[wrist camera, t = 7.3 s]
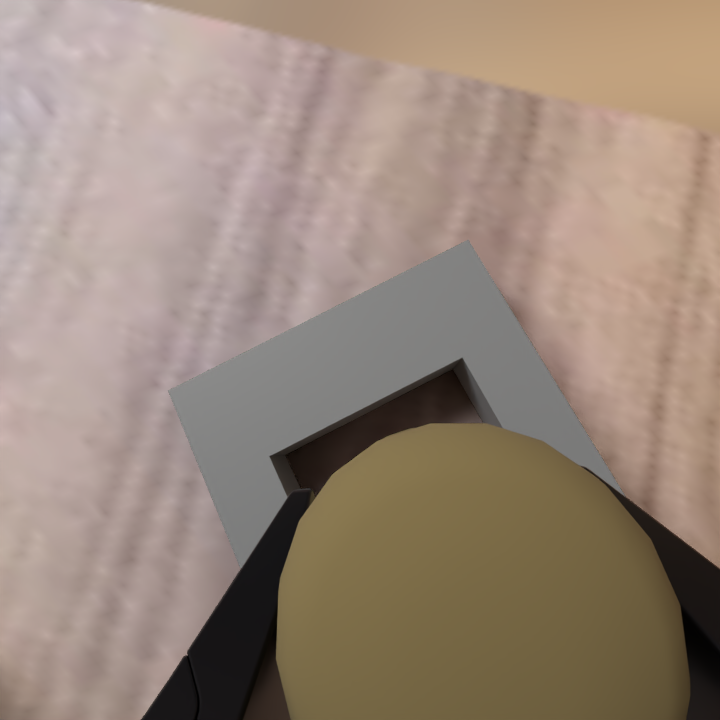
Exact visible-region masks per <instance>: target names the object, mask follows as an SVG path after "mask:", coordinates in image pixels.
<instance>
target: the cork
mask: <svg viewBox="0 0 720 720" xmlns="http://www.w3.org/2000/svg"><path fill="white" fill-rule="evenodd" d="M276 661H277V666H278V670H279V674H280V678H281V682H282V686H283V690H284V694H285V698H286V702H287V707H288V711H289V715H290V719H291V720H686V718H687V712H688V706H689V700H690V674H689V666H688V659H687V651H686V644H685V636H684V629H683V622H682V614H681V607H680V603H679V601H678V599H677V597H676V594H675V592H674V590H673V588H672V585H671V583H670V581H669V579H668V576H667V574H666V572H665V570H664V567H663V565H662V563H661V561H660V558H659V556H658V554H657V552H656V549H655V547H654V545H653V543H652V541H651V539H650V537H649V536H648V535H647V534H646V533H645V531H644V530H643V529H642V528H641V527H640V525H639V524H638V523H637V522H636V521H635V519H634V518H633V517H632V516H631V515H630V514H629V512H628V511H627V510H626V509H625V508H624V506H623V505H622V504H621V503H620V502H619V500H618V499H617V498H616V497H615V496H614V494H613V493H612V492H611V491H610V490H609V488H608V487H607V486H606V485H605V484H604V483H602V482H601V481H600V480H599V479H598V478H597V477H595V476H594V475H593V474H591V473H590V472H588V471H587V470H585V469H584V468H582V467H581V466H579V465H578V464H576V463H575V462H573V461H572V460H570V459H569V458H567V457H566V456H565V455H563V454H562V453H560V452H559V451H557V450H556V449H554V448H553V447H551V446H550V445H548V444H547V443H545V442H544V441H542V440H538V439H535V438H532V437H529V436H526V435H522V434H519V433H516V432H513V431H510V430H506V429H503V428H500V427H497V426H494V425H490V424H487V423H430V424H427V425H424V426H421V427H418V428H410V429H407V430H404V431H401V432H398V433H395V434H392V435H389V436H386V437H385V438H383V439H381V440H378V441H376V442H375V443H374V444H372V445H371V446H370V447H368V448H367V449H366V450H364V451H363V452H362V453H360V454H359V455H358V456H356V457H355V458H353V459H352V460H351V461H349V462H348V463H347V464H345V465H344V466H343V467H341V468H340V469H339V470H337V471H336V472H335V473H333V474H332V476H331V477H330V478H329V480H328V481H327V483H326V484H325V485H324V487H323V488H322V490H321V491H320V492H319V494H318V495H317V497H316V498H315V499H314V501H313V502H312V504H311V505H310V506H309V508H308V509H307V511H306V512H305V513H304V515H303V516H302V518H301V519H300V520H299V523H298V526H297V529H296V532H295V535H294V538H293V541H292V544H291V547H290V550H289V553H288V556H287V559H286V562H285V565H284V568H283V571H282V574H281V577H280V583H279V591H278V616H277V643H276Z"/></svg>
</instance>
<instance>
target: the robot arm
mask: <svg viewBox="0 0 720 720" xmlns="http://www.w3.org/2000/svg"><path fill="white" fill-rule="evenodd" d="M581 467H582V468H584V469H585V470H587V471H588V472H590V473H591V474H593V475H594V476H595V477H597V478H598V479H599V480H600V481H601V482H602V483H604V484H605V485H606V486H607V487H608V488H609V490H610V491H611V492H612V493H613V494H614V496H615V497H616V498H617V499H618V500H619V502H620V503H621V504H622V505H623V506H624V508H625V509H626V510H627V511H628V512H629V514H630V515H631V516H632V517H633V518H634V519H635V521H636V522H637V523H638V524H639V525H640V527H641V528H642V529H643V530H644V531H645V533H646V534H647V535H648V536H649V537H650V539H651V541H652V543H653V545H654V547H655V549H656V552H657V554H658V556H659V558H660V561H661V563H662V565H663V567H664V570H665V572H666V574H667V576H668V579H669V581H670V583H671V585H672V588H673V590H674V592H675V594H676V597H677V599H678V601H679V603H680V607H681V614H682V622H683V629H684V636H685V644H686V651H687V659H688V666H689V674H690V700H689V706H688V712H687V718H686V720H720V568H718V567H717V566H716V565H714V564H713V563H712V562H710V561H709V560H708V559H706V558H705V557H704V556H703V555H701V554H700V553H699V552H697V551H696V550H695V549H693V548H692V547H691V546H689V545H688V544H687V543H685V542H684V541H683V540H682V539H680V538H679V537H678V536H676V535H675V534H674V533H672V532H671V531H670V530H668V529H667V528H666V527H664V526H663V525H662V524H661V523H659V522H658V521H657V520H655V519H654V518H653V517H651V516H650V515H649V514H647V513H646V512H645V511H643V510H642V509H641V508H640V507H638V506H637V505H636V504H634V503H633V502H632V501H630V500H629V499H628V498H626V497H625V496H624V495H622V494H621V493H620V492H619V491H617V490H616V489H615V488H613V487H612V486H611V485H609V484H608V483H607V482H605V481H604V480H603V479H601V478H600V477H599V476H598V475H596V474H595V473H594V472H592V471H591V470H590V469H588V468H587V467H584V466H581ZM314 499H315V496H314V492H313V490H312V489H310V488H306V489H295V490H293V491H292V492H291V493H290V494H289V496H288V497H287V499H286V500H285V502H284V503H283V505H282V506H281V508H280V510H279V511H278V513H277V514H276V516H275V517H274V519H273V520H272V522H271V523H270V525H269V526H268V528H267V530H266V531H265V533H264V534H263V536H262V537H261V539H260V540H259V542H258V543H257V545H256V546H255V548H254V550H253V551H252V553H251V554H250V556H249V557H248V559H247V560H246V562H245V563H244V565H243V566H242V568H241V570H240V571H239V573H238V574H237V576H236V577H235V579H234V580H233V582H232V583H231V585H230V586H229V588H228V590H227V591H226V593H225V594H224V596H223V597H222V599H221V600H220V602H219V603H218V605H217V606H216V608H215V609H214V611H213V613H212V614H211V616H210V617H209V619H208V620H207V622H206V623H205V625H204V626H203V628H202V629H201V631H200V633H199V634H198V636H197V637H196V639H195V640H194V642H193V643H192V645H191V646H190V648H189V649H188V651H187V654H188V656H187V655H185V656H184V657H183V658H182V660H181V661H180V663H179V664H178V666H177V668H176V669H175V671H174V672H173V674H172V675H171V677H170V678H169V680H168V681H167V683H166V684H165V686H164V687H163V689H162V690H161V692H160V693H159V694H158V696H157V697H156V699H155V700H154V702H153V703H152V705H151V706H150V708H149V709H148V711H147V712H146V713H145V715H144V716H143V718H142V719H141V720H291V719H290V715H289V711H288V707H287V702H286V698H285V694H284V690H283V686H282V682H281V678H280V674H279V670H278V666H277V661H276V643H277V616H278V591H279V583H280V577H281V574H282V571H283V568H284V565H285V562H286V559H287V556H288V553H289V550H290V547H291V544H292V541H293V538H294V535H295V532H296V529H297V526H298V523H299V520H300V519H301V518H302V516H303V515H304V513H305V512H306V511H307V509H308V508H309V506H310V505H311V504H312V502H313V501H314Z"/></svg>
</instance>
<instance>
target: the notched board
mask: <svg viewBox="0 0 720 720" xmlns="http://www.w3.org/2000/svg"><path fill="white" fill-rule="evenodd" d="M452 369H453V370H454V372H455V374H456V376H457V377H458V379H459V381H460V383H461V384H462V386H463V388H464V390H465V391H466V393H467V395H468V397H469V399H470V400H471V402H472V404H473V406H474V407H475V409H476V411H477V413H478V415H479V416H480V418H481V420H482V422H483V423H487V424H490V425H494V426H497V427H500V428H503V429H506V430H510V431H513V432H516V433H519V434H522V435H526V436H529V437H532V438H535V439H538V440H542V441H544V442H545V443H547V444H548V445H550V446H551V447H553V448H554V449H556V450H557V451H559V452H560V453H562V454H563V455H565V456H566V457H567V458H569V459H570V460H572V461H573V462H575V463H576V464H578V465H579V466H584V467H587V468H588V469H590V470H591V471H592V472H594V473H595V474H596V475H598V476H599V477H600V478H601V479H603V480H604V481H605V482H607V483H608V484H609V485H611V486H612V487H613V488H615V489H616V490H617V491H619V492H620V493H621V494H622V495H624V493H623V492H622V490H621V488H620V487H619V485H618V483H617V482H616V480H615V478H614V477H613V475H612V474H611V472H610V470H609V469H608V467H607V465H606V464H605V462H604V461H603V459H602V457H601V456H600V454H599V452H598V451H597V449H596V447H595V446H594V444H593V443H592V441H591V439H590V438H589V436H588V434H587V433H586V431H585V430H584V428H583V426H582V425H581V423H580V421H579V420H578V418H577V416H576V415H575V413H574V412H573V410H572V408H571V407H570V405H569V403H568V402H567V400H566V399H565V397H564V395H563V394H562V392H561V390H560V389H559V387H558V385H557V384H556V382H555V381H554V379H553V377H552V376H551V374H550V372H549V371H548V369H547V368H546V366H545V364H544V363H543V361H542V359H541V358H540V356H539V354H538V353H537V351H536V350H535V348H534V346H533V345H532V343H531V341H530V340H529V338H528V337H527V335H526V333H525V332H524V330H523V328H522V327H521V325H520V323H519V322H518V320H517V319H516V317H515V315H514V314H513V312H512V310H511V309H510V307H509V306H508V304H507V302H506V301H505V299H504V297H503V296H502V294H501V293H500V291H499V289H498V288H497V286H496V284H495V283H494V281H493V279H492V278H491V276H490V275H489V273H488V271H487V270H486V268H485V266H484V265H483V263H482V262H481V260H480V258H479V257H478V255H477V253H476V252H475V250H474V248H473V247H472V245H471V244H470V242H469V240H467V241H465V242H463V243H461V244H459V245H457V246H455V247H453V248H451V249H449V250H447V251H445V252H443V253H441V254H439V255H437V256H435V257H433V258H431V259H429V260H427V261H425V262H423V263H421V264H419V265H417V266H415V267H413V268H411V269H409V270H407V271H405V272H403V273H401V274H399V275H397V276H395V277H393V278H391V279H389V280H387V281H385V282H383V283H381V284H379V285H377V286H375V287H373V288H371V289H369V290H367V291H365V292H363V293H361V294H359V295H357V296H355V297H353V298H351V299H349V300H347V301H345V302H343V303H341V304H339V305H337V306H335V307H333V308H331V309H330V310H328V311H326V312H324V313H322V314H320V315H318V316H316V317H314V318H312V319H310V320H308V321H306V322H304V323H302V324H300V325H298V326H296V327H294V328H292V329H290V330H288V331H286V332H284V333H282V334H280V335H278V336H276V337H274V338H272V339H270V340H268V341H266V342H264V343H262V344H260V345H258V346H256V347H254V348H252V349H250V350H248V351H246V352H244V353H242V354H240V355H238V356H236V357H234V358H232V359H230V360H228V361H226V362H224V363H222V364H220V365H218V366H216V367H214V368H212V369H210V370H208V371H206V372H204V373H202V374H200V375H198V376H196V377H194V378H192V379H190V380H188V381H186V382H184V383H182V384H180V385H179V386H177V387H175V388H173V389H171V390H169V391H168V392H169V394H170V397H171V399H172V402H173V404H174V407H175V409H176V411H177V414H178V416H179V419H180V421H181V424H182V426H183V429H184V431H185V434H186V436H187V438H188V441H189V443H190V446H191V448H192V451H193V453H194V456H195V458H196V461H197V463H198V465H199V468H200V470H201V473H202V475H203V478H204V480H205V483H206V485H207V488H208V490H209V492H210V495H211V497H212V500H213V502H214V505H215V507H216V510H217V512H218V514H219V517H220V519H221V522H222V524H223V527H224V529H225V532H226V534H227V537H228V539H229V541H230V544H231V546H232V549H233V551H234V554H235V556H236V559H237V561H238V564H239V566H240V568H242V566H243V565H244V563H245V562H246V560H247V559H248V557H249V556H250V554H251V553H252V551H253V550H254V548H255V546H256V545H257V543H258V542H259V540H260V539H261V537H262V536H263V534H264V533H265V531H266V530H267V528H268V526H269V525H270V523H271V522H272V520H273V519H274V517H275V516H276V514H277V513H278V511H279V510H280V508H281V506H282V505H283V503H284V502H285V500H286V499H287V497H288V496H289V494H290V493H291V492H292V491H293V490H295V489H300V487H299V484H298V482H297V480H296V478H295V476H294V473H293V471H292V469H291V467H290V465H289V462H288V460H287V458H286V456H285V455H286V454H288V453H290V452H292V451H294V450H296V449H298V448H300V447H302V446H304V445H306V444H308V443H310V442H312V441H313V440H315V439H317V438H319V437H321V436H323V435H325V434H327V433H329V432H331V431H333V430H335V429H337V428H339V427H341V426H343V425H345V424H347V423H349V422H351V421H352V420H354V419H356V418H358V417H360V416H362V415H364V414H366V413H368V412H370V411H372V410H374V409H376V408H378V407H380V406H382V405H384V404H386V403H388V402H390V401H391V400H393V399H395V398H397V397H399V396H401V395H403V394H405V393H407V392H409V391H411V390H413V389H415V388H417V387H419V386H421V385H423V384H425V383H427V382H429V381H430V380H432V379H434V378H436V377H438V376H440V375H442V374H444V373H446V372H448V371H450V370H452ZM624 496H625V495H624ZM625 497H626V496H625Z"/></svg>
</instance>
